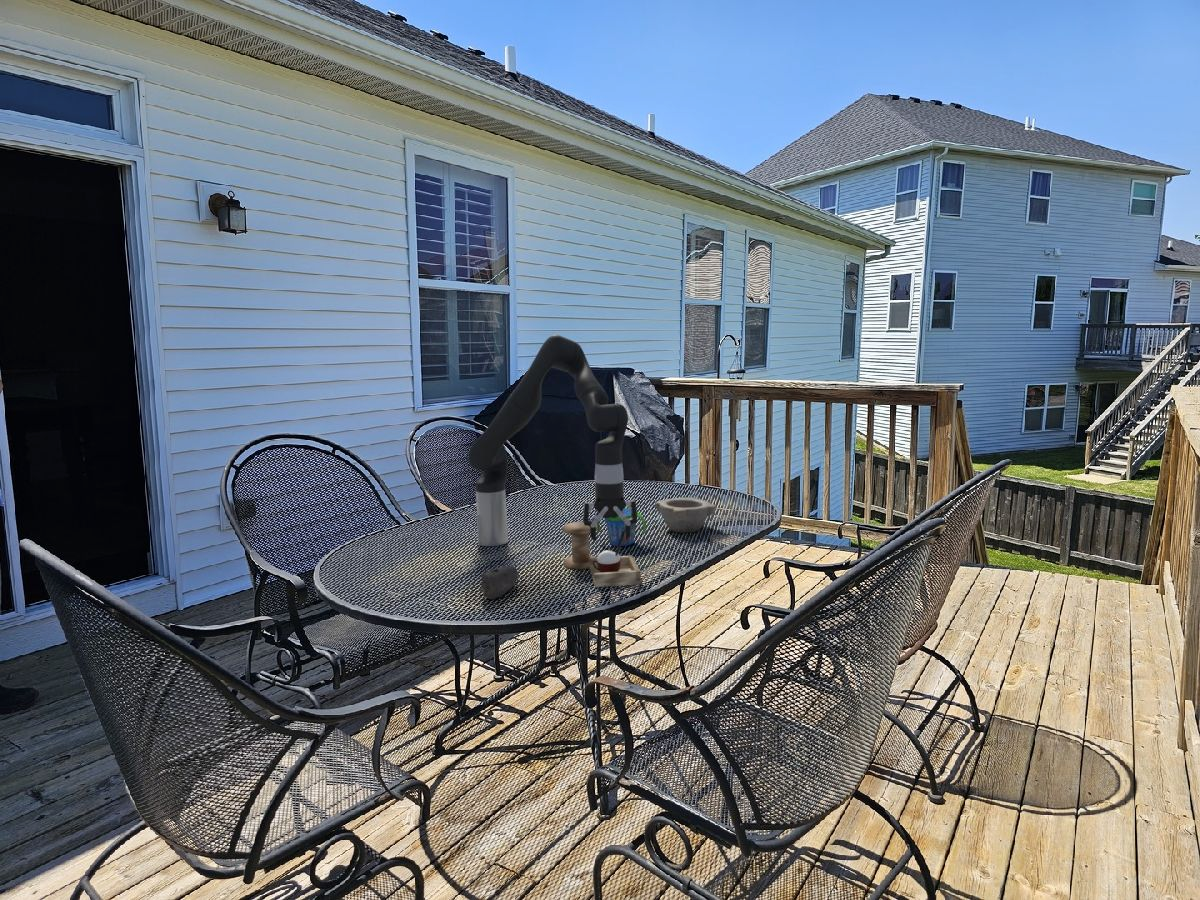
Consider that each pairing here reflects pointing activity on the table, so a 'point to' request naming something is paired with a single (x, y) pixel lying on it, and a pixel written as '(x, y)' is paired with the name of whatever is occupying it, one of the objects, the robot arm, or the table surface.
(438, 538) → the table surface
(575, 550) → the tan spool shaped stand
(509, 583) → the perforated stone tool
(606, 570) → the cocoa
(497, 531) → the robot arm
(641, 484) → the table surface
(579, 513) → the table surface
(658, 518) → the table surface
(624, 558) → the shallow rimmed tray
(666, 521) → the mortar
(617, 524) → the snack cup
